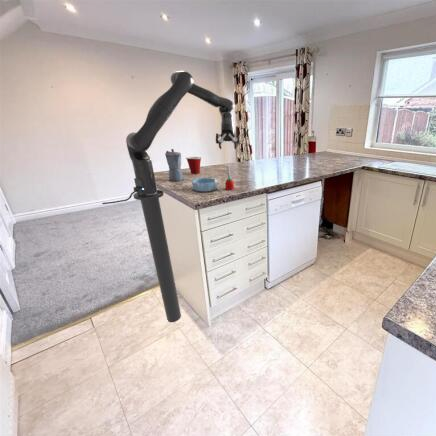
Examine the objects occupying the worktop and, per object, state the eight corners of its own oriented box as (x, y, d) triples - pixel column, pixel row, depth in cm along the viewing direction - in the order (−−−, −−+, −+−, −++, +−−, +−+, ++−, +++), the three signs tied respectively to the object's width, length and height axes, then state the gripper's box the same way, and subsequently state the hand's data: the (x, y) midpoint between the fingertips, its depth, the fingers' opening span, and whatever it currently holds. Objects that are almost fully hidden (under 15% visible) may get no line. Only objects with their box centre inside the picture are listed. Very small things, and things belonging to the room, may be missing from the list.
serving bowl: (205, 193, 139) (204, 185, 137) (188, 189, 144) (186, 181, 142) (221, 187, 150) (221, 179, 148) (205, 184, 155) (204, 176, 153)
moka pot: (176, 183, 156) (171, 150, 148) (162, 179, 163) (156, 148, 155) (189, 180, 164) (185, 149, 156) (175, 176, 171) (170, 146, 163)
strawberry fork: (230, 190, 146) (228, 166, 140) (224, 189, 148) (222, 165, 142) (235, 188, 150) (234, 165, 144) (229, 187, 152) (227, 164, 146)
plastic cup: (206, 172, 185) (204, 156, 180) (197, 175, 175) (195, 158, 170) (194, 171, 187) (192, 155, 183) (184, 174, 178) (182, 157, 173)
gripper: (215, 122, 151) (215, 144, 145) (238, 123, 154) (239, 144, 148) (216, 131, 158) (216, 152, 152) (238, 131, 161) (239, 152, 155)
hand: (227, 148), depth 150 cm, fingers open, 8 cm apart
